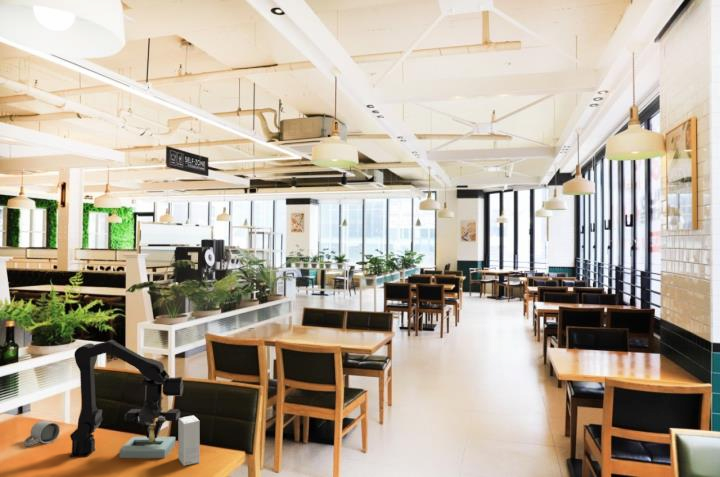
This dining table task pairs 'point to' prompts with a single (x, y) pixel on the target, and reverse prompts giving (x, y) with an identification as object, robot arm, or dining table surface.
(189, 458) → the skincare box
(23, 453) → the dining table surface
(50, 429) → the ceramic mug
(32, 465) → the dining table surface
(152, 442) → the brass door knob
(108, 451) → the dining table surface
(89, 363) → the robot arm
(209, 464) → the dining table surface
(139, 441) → the keyhole plate
